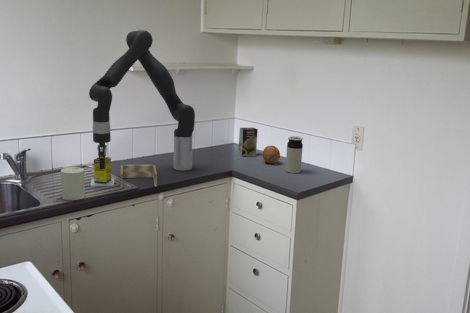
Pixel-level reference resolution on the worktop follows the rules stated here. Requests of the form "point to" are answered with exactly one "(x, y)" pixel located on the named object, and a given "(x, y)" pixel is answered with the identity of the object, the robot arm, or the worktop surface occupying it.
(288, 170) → the travel mug
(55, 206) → the worktop surface
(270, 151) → the onion
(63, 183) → the can
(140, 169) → the open wooden frame
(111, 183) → the pad
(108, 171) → the supplement box
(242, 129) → the coffee box
